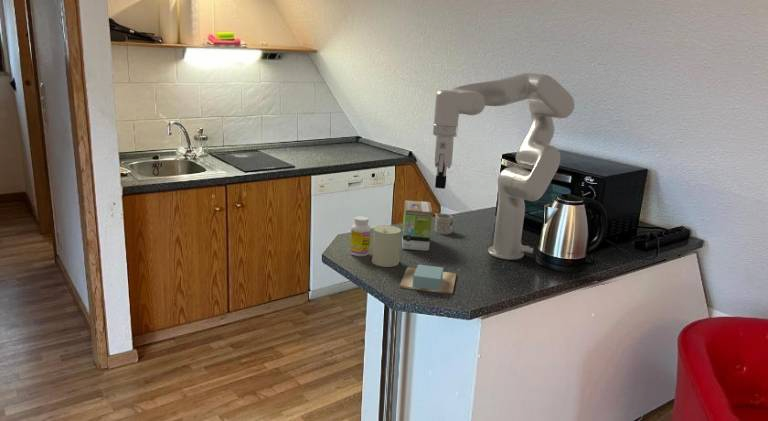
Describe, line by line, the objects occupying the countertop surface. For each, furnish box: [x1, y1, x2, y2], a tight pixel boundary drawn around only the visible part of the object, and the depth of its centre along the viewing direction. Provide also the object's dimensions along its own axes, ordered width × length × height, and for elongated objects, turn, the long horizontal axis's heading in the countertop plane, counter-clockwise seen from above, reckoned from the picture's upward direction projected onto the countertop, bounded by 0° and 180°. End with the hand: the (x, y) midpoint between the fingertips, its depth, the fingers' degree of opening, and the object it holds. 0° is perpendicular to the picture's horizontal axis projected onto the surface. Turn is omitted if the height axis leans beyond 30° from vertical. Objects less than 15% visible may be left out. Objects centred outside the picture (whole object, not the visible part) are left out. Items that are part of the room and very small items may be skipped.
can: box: [371, 225, 402, 268], centre depth 199 cm, size 9×9×12 cm
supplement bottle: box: [349, 215, 372, 257], centre depth 205 cm, size 7×7×13 cm
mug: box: [434, 213, 454, 236], centre depth 238 cm, size 10×7×7 cm, turn 12°
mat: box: [399, 267, 457, 295], centre depth 186 cm, size 16×16×1 cm
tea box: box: [401, 199, 433, 251], centre depth 219 cm, size 15×10×15 cm
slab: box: [413, 264, 444, 290], centre depth 183 cm, size 8×4×10 cm
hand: (440, 187), depth 191 cm, fingers closed
